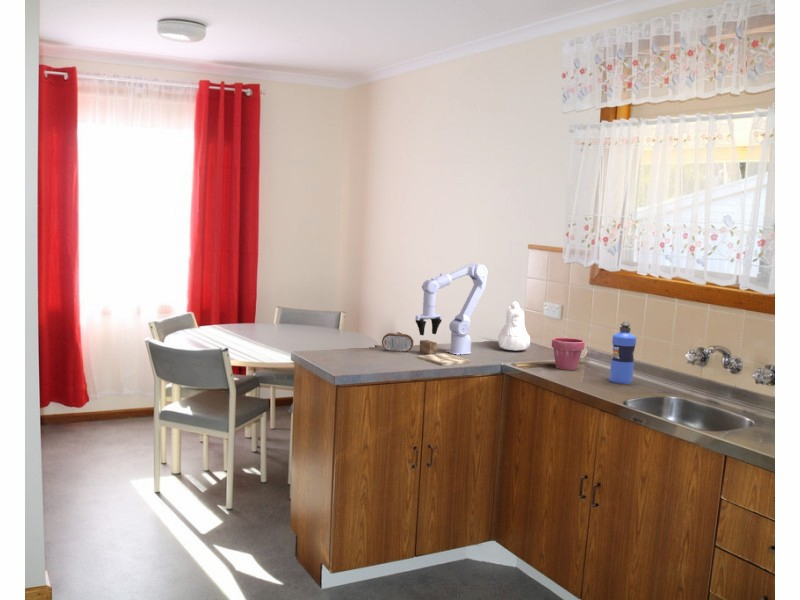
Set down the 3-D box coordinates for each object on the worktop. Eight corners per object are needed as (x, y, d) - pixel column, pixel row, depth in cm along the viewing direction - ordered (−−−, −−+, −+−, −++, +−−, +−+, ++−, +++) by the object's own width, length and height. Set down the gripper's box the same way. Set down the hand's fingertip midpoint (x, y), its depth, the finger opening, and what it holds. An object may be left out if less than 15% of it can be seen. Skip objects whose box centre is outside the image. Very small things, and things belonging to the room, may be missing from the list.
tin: (413, 351, 342) (413, 334, 341) (412, 352, 339) (413, 335, 338) (381, 349, 343) (382, 332, 342) (381, 350, 340) (381, 333, 339)
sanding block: (426, 352, 342) (426, 339, 342) (436, 355, 336) (436, 342, 335) (419, 352, 340) (419, 340, 339) (429, 356, 333) (430, 343, 333)
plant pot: (554, 363, 329) (556, 335, 328) (585, 367, 323) (587, 339, 322) (546, 368, 316) (548, 340, 315) (578, 372, 311) (580, 343, 309)
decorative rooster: (528, 354, 348) (532, 304, 345) (496, 352, 351) (499, 301, 348) (530, 346, 372) (533, 298, 369) (500, 343, 375) (503, 296, 372)
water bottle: (626, 379, 302) (630, 320, 299) (636, 384, 293) (641, 323, 290) (605, 378, 301) (610, 320, 298) (615, 384, 292) (620, 323, 289)
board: (445, 355, 336) (445, 353, 336) (470, 362, 322) (470, 360, 322) (418, 357, 327) (418, 355, 327) (442, 365, 313) (442, 363, 313)
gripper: (435, 304, 342) (434, 332, 344) (411, 305, 333) (410, 334, 335) (445, 305, 337) (443, 334, 338) (421, 307, 328) (420, 336, 329)
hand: (427, 334), depth 336 cm, fingers open, 7 cm apart
